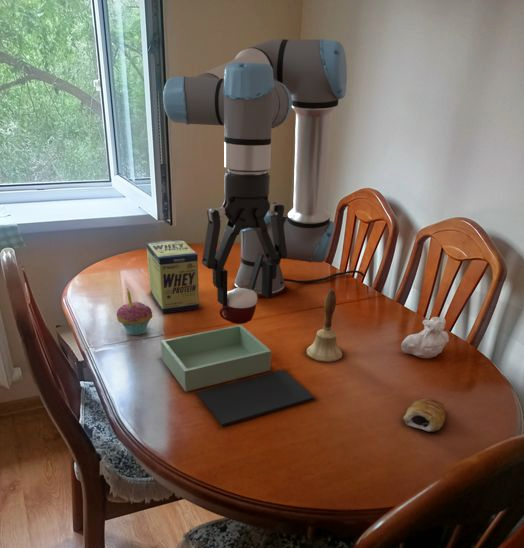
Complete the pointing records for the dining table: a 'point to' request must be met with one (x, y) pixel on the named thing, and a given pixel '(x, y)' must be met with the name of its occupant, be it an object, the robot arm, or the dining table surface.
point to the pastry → (426, 415)
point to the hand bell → (326, 335)
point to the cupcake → (134, 316)
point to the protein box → (173, 275)
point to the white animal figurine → (427, 339)
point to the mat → (253, 397)
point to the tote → (215, 357)
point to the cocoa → (242, 299)
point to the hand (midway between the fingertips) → (245, 299)
